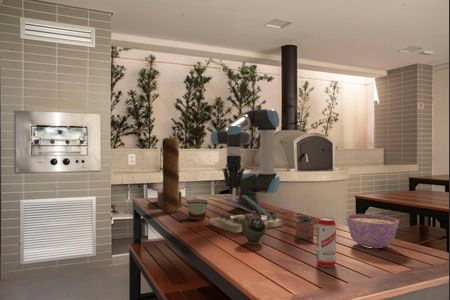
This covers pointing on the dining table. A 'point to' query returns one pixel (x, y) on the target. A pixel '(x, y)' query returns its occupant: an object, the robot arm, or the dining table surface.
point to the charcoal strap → (241, 206)
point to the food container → (197, 208)
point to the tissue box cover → (160, 198)
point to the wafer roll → (170, 175)
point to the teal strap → (257, 206)
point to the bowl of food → (372, 229)
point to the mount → (236, 221)
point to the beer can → (326, 242)
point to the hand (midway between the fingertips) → (232, 200)
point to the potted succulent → (304, 227)
